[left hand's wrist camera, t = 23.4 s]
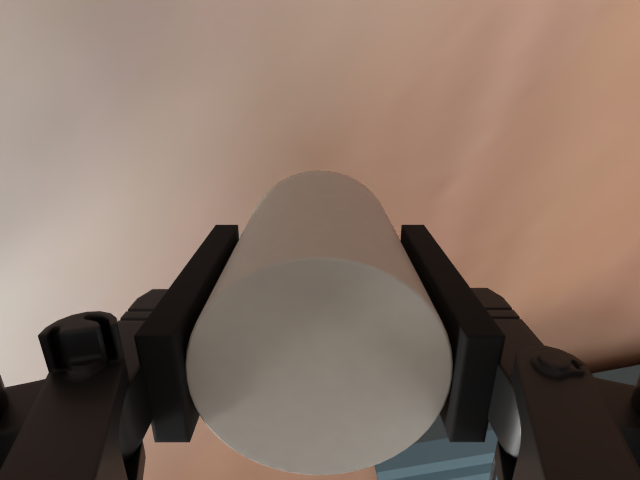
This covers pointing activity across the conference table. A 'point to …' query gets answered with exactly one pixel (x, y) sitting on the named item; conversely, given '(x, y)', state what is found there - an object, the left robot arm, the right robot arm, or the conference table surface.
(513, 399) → the left robot arm
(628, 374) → the book
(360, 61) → the conference table surface
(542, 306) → the conference table surface
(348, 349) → the can
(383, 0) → the conference table surface
